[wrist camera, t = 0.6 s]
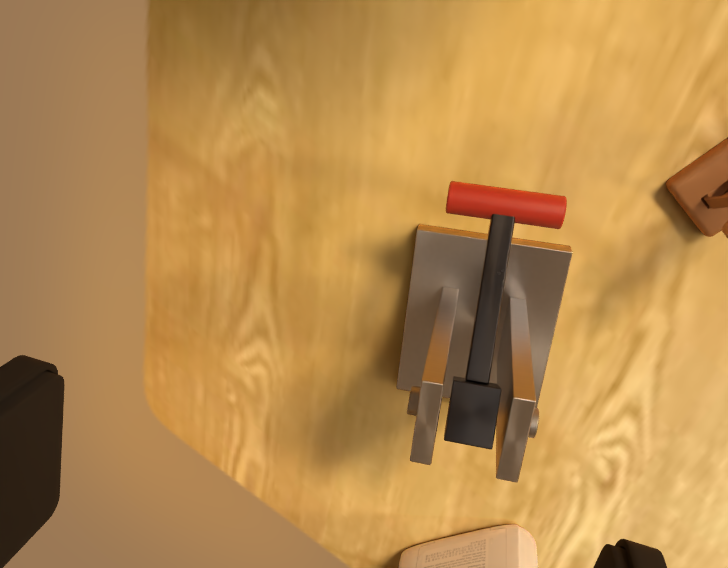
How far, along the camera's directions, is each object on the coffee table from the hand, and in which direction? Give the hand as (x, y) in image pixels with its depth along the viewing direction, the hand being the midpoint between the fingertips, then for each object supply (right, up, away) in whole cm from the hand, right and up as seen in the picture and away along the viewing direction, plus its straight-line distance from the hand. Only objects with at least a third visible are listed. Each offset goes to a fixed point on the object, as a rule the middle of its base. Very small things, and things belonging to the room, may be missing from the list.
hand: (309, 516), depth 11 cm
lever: (+7, +2, +21) cm, 22 cm away
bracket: (+8, +2, +30) cm, 31 cm away
